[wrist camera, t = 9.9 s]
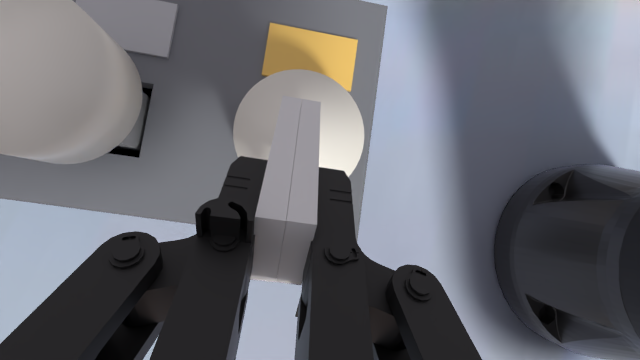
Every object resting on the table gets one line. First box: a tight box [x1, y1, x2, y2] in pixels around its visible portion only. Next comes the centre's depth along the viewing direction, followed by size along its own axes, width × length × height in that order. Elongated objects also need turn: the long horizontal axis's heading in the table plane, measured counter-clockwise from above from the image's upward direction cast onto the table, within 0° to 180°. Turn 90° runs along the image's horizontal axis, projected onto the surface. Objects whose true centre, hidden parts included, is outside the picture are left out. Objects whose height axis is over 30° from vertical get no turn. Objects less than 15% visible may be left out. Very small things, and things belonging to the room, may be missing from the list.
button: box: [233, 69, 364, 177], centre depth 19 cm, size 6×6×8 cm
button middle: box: [0, 0, 151, 164], centre depth 15 cm, size 6×6×8 cm
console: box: [0, 0, 388, 241], centre depth 21 cm, size 28×14×8 cm, turn 82°
